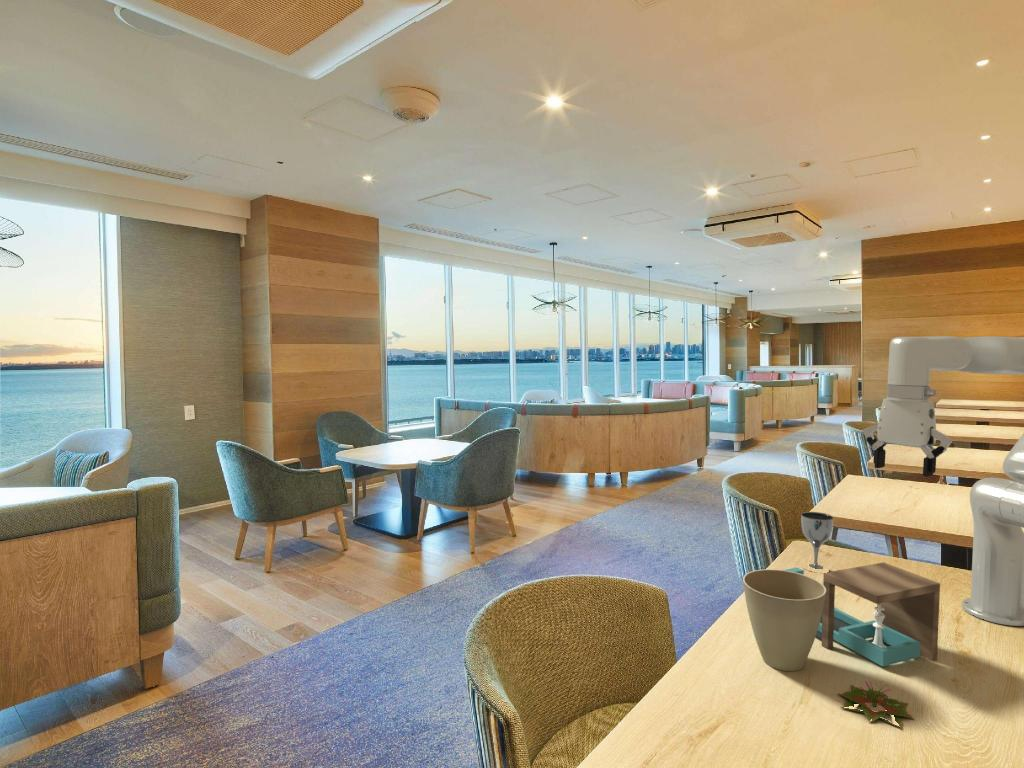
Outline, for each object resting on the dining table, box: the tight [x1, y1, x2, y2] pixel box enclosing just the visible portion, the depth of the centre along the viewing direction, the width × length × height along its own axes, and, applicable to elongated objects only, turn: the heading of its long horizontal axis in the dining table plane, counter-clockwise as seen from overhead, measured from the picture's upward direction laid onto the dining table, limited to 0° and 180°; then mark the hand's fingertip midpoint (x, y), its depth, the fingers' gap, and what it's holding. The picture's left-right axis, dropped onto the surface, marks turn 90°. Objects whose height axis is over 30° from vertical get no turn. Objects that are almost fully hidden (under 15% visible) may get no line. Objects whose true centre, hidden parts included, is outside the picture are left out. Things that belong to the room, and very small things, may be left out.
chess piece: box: [872, 604, 887, 648], centre depth 120 cm, size 5×5×10 cm
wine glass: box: [800, 511, 834, 569], centre depth 165 cm, size 8×8×15 cm
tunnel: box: [815, 562, 941, 661], centre depth 125 cm, size 17×23×16 cm
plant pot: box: [742, 568, 826, 672], centre depth 116 cm, size 15×15×16 cm
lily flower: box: [838, 679, 915, 731], centre depth 102 cm, size 12×12×5 cm
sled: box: [784, 567, 921, 667], centre depth 130 cm, size 10×31×7 cm, turn 19°
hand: (903, 471), depth 129 cm, fingers open, 9 cm apart
